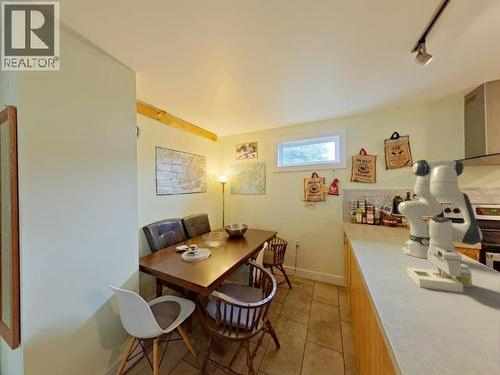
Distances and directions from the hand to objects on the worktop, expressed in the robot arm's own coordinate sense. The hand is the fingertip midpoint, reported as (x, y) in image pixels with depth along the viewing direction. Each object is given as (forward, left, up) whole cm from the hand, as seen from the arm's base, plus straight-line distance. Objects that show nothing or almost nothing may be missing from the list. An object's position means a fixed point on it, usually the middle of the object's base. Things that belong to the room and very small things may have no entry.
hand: (442, 277), depth 94 cm
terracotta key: (0, 0, -3) cm, 3 cm away
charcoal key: (0, -8, -3) cm, 9 cm away
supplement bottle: (-2, +9, -4) cm, 10 cm away
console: (0, -4, -3) cm, 5 cm away
